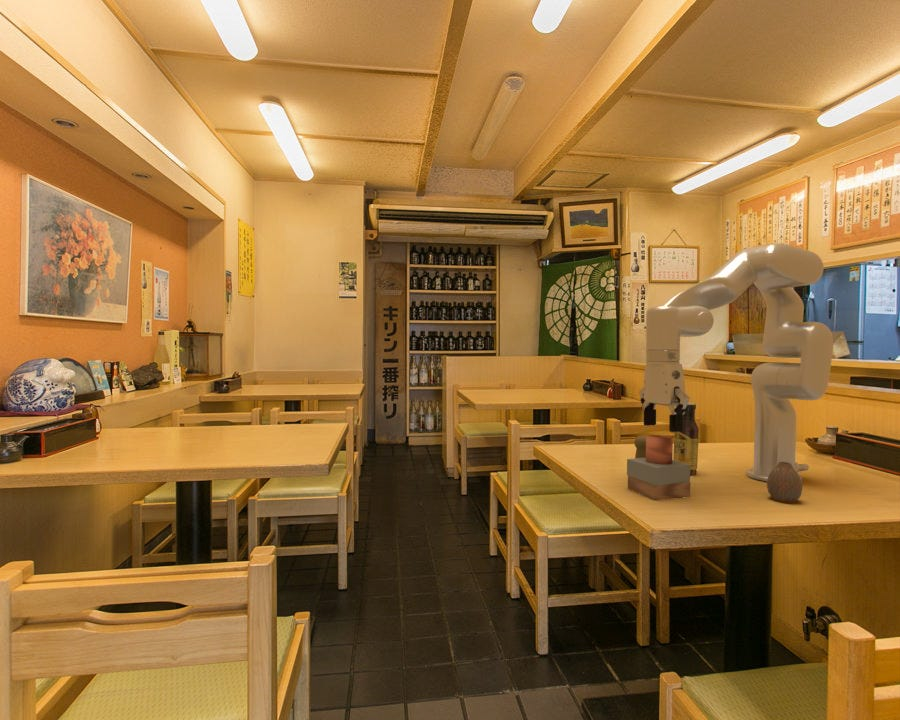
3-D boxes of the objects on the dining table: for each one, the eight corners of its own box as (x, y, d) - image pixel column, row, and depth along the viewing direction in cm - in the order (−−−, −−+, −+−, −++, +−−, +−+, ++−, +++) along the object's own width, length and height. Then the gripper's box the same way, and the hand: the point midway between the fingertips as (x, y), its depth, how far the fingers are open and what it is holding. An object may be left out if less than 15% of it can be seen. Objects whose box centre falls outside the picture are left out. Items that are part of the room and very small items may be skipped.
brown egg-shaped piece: (803, 506, 112) (804, 467, 111) (766, 501, 115) (767, 463, 115) (801, 498, 117) (802, 461, 117) (766, 494, 121) (767, 458, 121)
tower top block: (659, 472, 128) (659, 456, 128) (689, 481, 118) (690, 464, 118) (626, 474, 124) (627, 459, 124) (655, 485, 115) (656, 467, 115)
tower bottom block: (662, 488, 127) (662, 472, 127) (690, 499, 118) (690, 482, 118) (627, 490, 125) (627, 474, 125) (653, 502, 115) (653, 484, 115)
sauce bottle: (668, 470, 144) (670, 401, 144) (689, 470, 145) (690, 401, 145) (681, 476, 138) (682, 404, 137) (702, 475, 138) (704, 404, 138)
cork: (657, 479, 134) (658, 438, 133) (634, 478, 135) (634, 437, 135) (653, 474, 139) (654, 435, 139) (630, 473, 141) (631, 434, 140)
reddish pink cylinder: (660, 458, 125) (661, 434, 125) (677, 463, 119) (678, 438, 119) (640, 459, 124) (640, 435, 124) (656, 464, 118) (657, 439, 118)
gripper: (702, 358, 113) (701, 433, 113) (653, 356, 130) (653, 422, 130) (673, 358, 111) (672, 435, 112) (628, 357, 128) (627, 423, 128)
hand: (662, 428), depth 121 cm, fingers open, 9 cm apart
